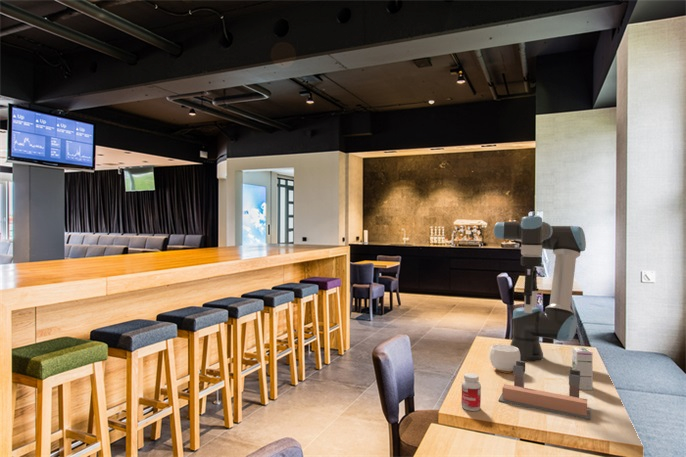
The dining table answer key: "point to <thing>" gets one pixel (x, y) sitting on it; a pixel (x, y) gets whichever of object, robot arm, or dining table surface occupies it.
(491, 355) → the cup
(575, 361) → the syrup box
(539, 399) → the rail
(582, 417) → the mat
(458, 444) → the dining table surface
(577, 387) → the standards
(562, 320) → the robot arm
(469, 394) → the pill bottle
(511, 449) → the dining table surface
